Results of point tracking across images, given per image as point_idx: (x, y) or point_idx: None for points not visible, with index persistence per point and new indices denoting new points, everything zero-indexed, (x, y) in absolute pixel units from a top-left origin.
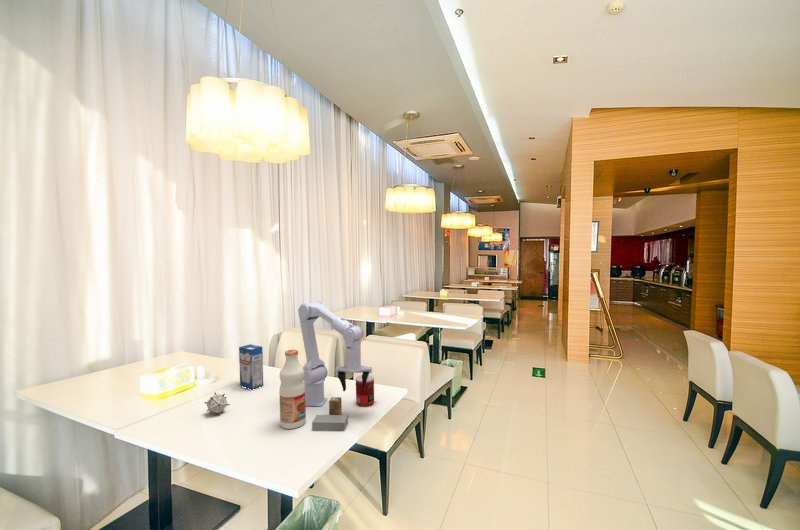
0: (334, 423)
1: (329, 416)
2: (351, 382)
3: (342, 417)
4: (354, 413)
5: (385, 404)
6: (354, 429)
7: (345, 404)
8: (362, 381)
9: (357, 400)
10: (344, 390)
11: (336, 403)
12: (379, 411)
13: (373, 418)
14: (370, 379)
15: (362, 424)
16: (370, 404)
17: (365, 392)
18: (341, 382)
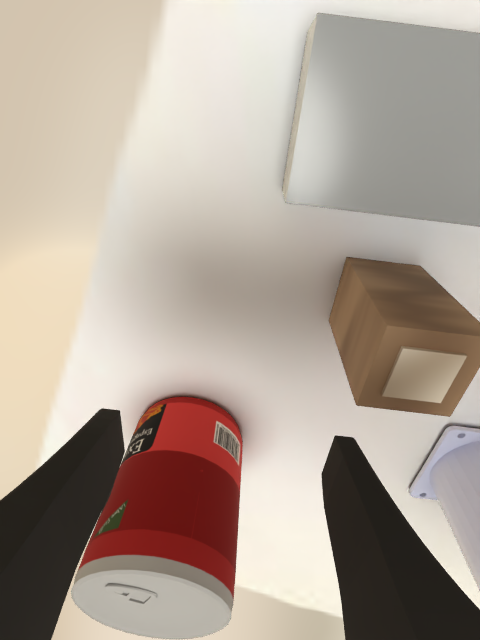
0: (424, 27)
1: (460, 189)
2: (281, 590)
3: (335, 154)
4: (243, 324)
5: (71, 404)
6: (218, 55)
7: (305, 429)
8: (27, 534)
9: (230, 436)
10: (342, 442)
11: (407, 317)
12: (84, 332)
13: (100, 242)
14: (98, 587)
15: (163, 150)
16: (153, 406)
17: (159, 470)
18: (426, 558)
